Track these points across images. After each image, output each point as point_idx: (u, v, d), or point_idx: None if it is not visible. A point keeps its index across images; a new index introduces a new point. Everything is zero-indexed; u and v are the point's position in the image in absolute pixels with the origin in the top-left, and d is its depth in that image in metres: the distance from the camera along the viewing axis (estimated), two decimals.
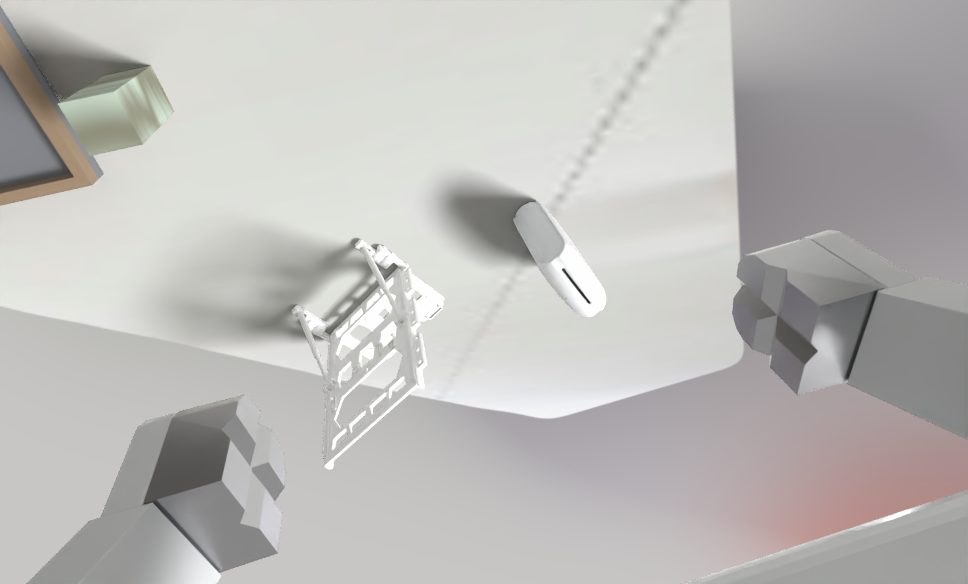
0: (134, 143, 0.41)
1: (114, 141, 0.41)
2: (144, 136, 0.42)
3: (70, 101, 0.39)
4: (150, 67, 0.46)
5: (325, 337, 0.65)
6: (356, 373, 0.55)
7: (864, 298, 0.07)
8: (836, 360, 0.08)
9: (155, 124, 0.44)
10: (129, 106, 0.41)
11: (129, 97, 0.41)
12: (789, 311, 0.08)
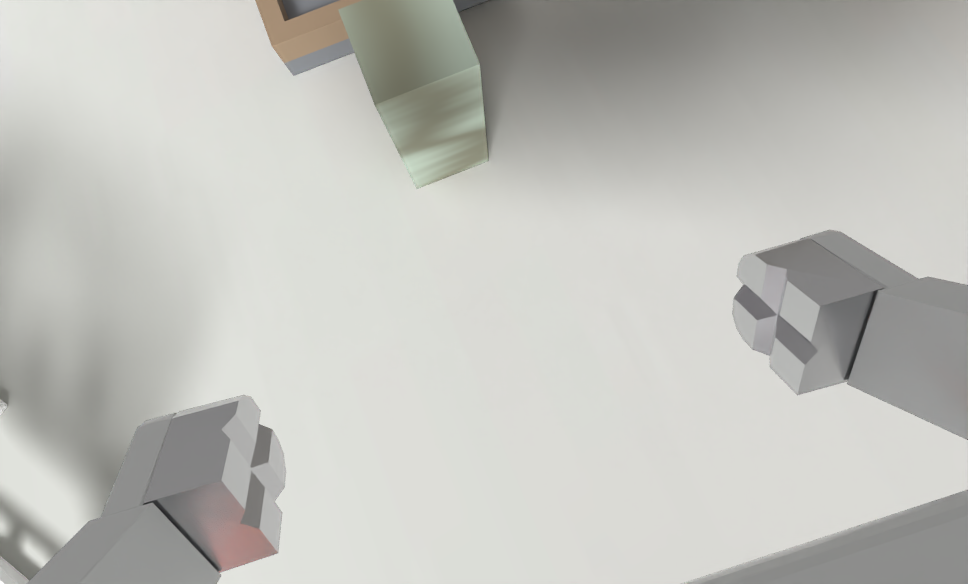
0: (374, 90, 0.19)
1: (373, 55, 0.19)
2: (388, 112, 0.20)
3: None
4: (486, 159, 0.28)
5: None
6: None
7: (864, 298, 0.07)
8: (836, 360, 0.08)
9: (405, 146, 0.23)
10: (446, 96, 0.20)
11: (460, 100, 0.21)
12: (789, 310, 0.08)
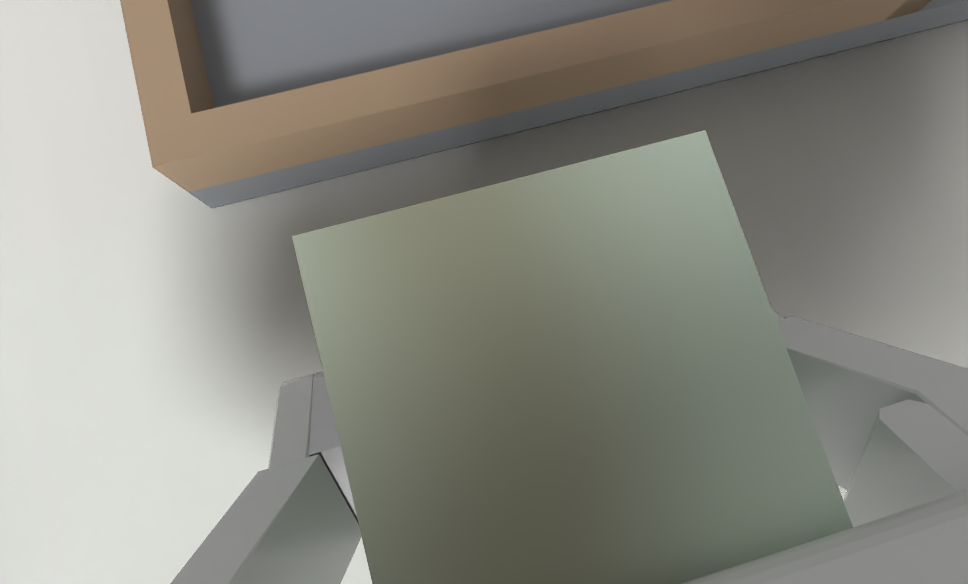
0: None
1: (419, 465, 0.05)
2: None
3: (727, 217, 0.05)
4: None
5: None
6: None
7: None
8: None
9: None
10: None
11: None
12: None
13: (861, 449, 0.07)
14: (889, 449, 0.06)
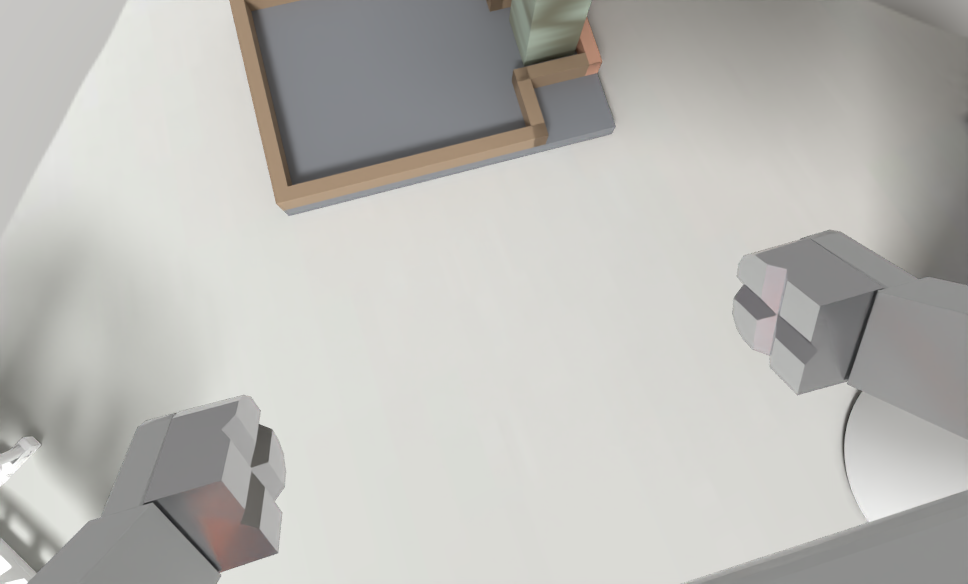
0: None
1: None
2: None
3: None
4: (573, 51, 0.41)
5: None
6: None
7: (864, 298, 0.07)
8: (836, 360, 0.08)
9: (537, 20, 0.36)
10: None
11: None
12: (789, 310, 0.08)
13: None
14: None
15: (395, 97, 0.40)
